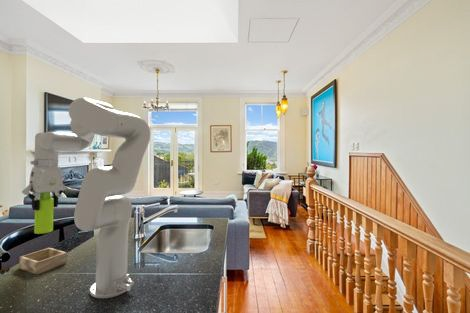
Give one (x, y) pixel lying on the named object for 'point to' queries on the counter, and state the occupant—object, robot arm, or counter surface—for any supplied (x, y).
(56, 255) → the box
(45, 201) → the soap dispenser
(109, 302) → the counter surface
